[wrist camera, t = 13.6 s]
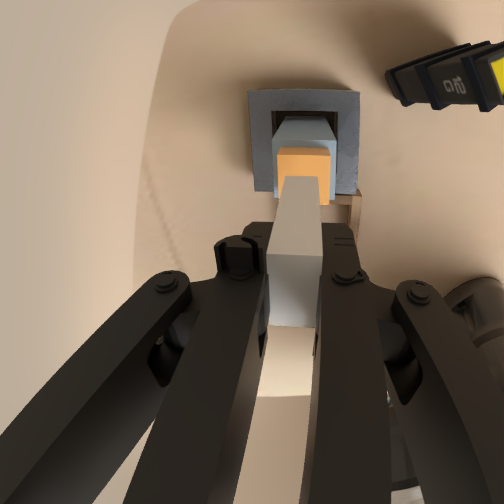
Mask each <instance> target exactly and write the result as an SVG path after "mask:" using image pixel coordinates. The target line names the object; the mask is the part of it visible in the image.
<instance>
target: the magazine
mask: <svg viewBox="0 0 504 504" xmlns="http://www.w3.org/2000/svg"><path fill="white" fill-rule="evenodd" d="M385 78H386V80H387V82H388V84H389V86H390V88H391V90H392V92H393V94H394V96H395V98H396V99H398V100H400V102H401V104H402V106H405V107H407V106H409V105H412V104H414V103H416V102H417V103H430V104H431V107H432V109H433V110H441V109H443V108H445V107H447V106H449V105H451V104H461V105H463V104H478V107H479V110H480V112H490V111H491V110H492V109H493V108H495V107H496V106H497V105H504V41H503V42H500V43H497V44H491V43H490V41H484V42H481V43H477V44H474V45H471V44H470V43H467V44H463V45H460V46H456V47H453V48H450V49H446V50H443V51H440V52H437V53H434V54H431V55H428V56H425V57H422V58H419V59H416V60H413V61H411V62H408V63H405V64H403V65H400V66H397V67H395V68H392V69H390V70H387V71H386V73H385Z"/></svg>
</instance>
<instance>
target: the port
mask: <svg viewBox="0 0 504 504" xmlns="http://www.w3.org/2000/svg"><path fill="white" fill-rule="evenodd" d="M248 104H249V118H250V132H251V146H252V160H253V174H254V189H255V191H265V192H274V175H273V153H272V139H273V137H274V135H275V134H276V132H277V127H276V111H334V136H335V138H336V141H337V146H336V180H335V193H339V194H356V188H357V173H358V155H359V125H360V92H358V91H353V90H337V89H304V88H291V89H257V90H250V91H248Z"/></svg>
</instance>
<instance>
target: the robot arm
mask: <svg viewBox="0 0 504 504" xmlns="http://www.w3.org/2000/svg"><path fill="white" fill-rule="evenodd" d="M214 251H215V258H216V264H217V270H218V272H217V274H216V276H215V278H212V279H209V280H204V281H197V282H191V283H190V281H189V278H188V276H187V275H186V274H185V273H183V272H180V271H174V270H171V271H164V272H161V273H158V274H156V275H154V276H153V277H151V278H150V279H149V280H148V281H147V282H146V283H144V284H143V285H142V286H141V287H140V288H139V289H138V290H137V291H136V292H135V293H134V294H133V295H132V296H131V297H130V298H129V299H128V300H127V301H126V302H125V303H124V304H123V305H122V306H121V307H120V308H119V309H118V310H116V311H115V312H114V314H113V315H111V316H110V317H109V318H108V319H107V320H106V321H105V322H104V324H102V325H101V326H100V327H99V328H98V329H97V330H96V331H95V333H94V334H92V335H91V336H90V338H89V339H88V340H87V341H86V342H85V343H84V344H83V345H82V346H81V347H80V348H79V349H78V350H77V351H76V352H75V353H74V354H73V355H72V356H71V357H70V358H69V359H68V360H67V361H66V362H65V363H64V365H63V366H62V367H61V368H60V369H59V370H58V371H57V372H56V373H55V374H54V375H53V376H52V377H51V378H50V380H49V381H48V382H47V383H46V384H45V385H44V386H43V387H42V389H40V390H39V392H38V393H37V394H36V395H35V396H34V397H33V398H32V399H31V401H30V402H29V403H28V404H27V405H26V406H25V407H24V408H23V410H22V411H21V412H20V413H19V415H17V417H16V418H15V419H14V420H13V421H12V422H11V424H10V425H9V426H8V427H7V428H6V430H5V431H4V432H3V433H2V434H1V436H0V504H92V503H93V502H94V500H95V499H96V497H97V496H98V495H99V494H100V492H101V491H102V490H103V488H104V487H105V486H106V485H107V483H108V482H109V481H110V479H111V478H112V477H113V475H114V474H115V472H116V471H117V470H118V468H119V467H120V466H121V464H122V463H123V462H124V460H125V459H126V458H127V456H128V455H129V454H130V452H131V451H132V449H133V448H134V447H135V445H136V444H137V443H138V441H139V440H140V438H141V437H142V436H143V434H144V433H145V432H146V430H147V429H148V427H149V426H150V425H151V423H152V422H153V421H154V419H155V418H156V419H155V421H154V424H153V426H152V429H151V431H150V434H149V436H148V439H147V441H146V444H145V446H144V449H143V451H142V454H141V456H140V459H139V462H138V464H137V467H136V470H135V472H134V475H133V477H132V480H131V483H130V485H129V488H128V490H127V493H126V496H125V498H124V501H123V504H233V501H234V496H235V492H236V488H237V484H238V479H239V475H240V471H241V466H242V462H243V457H244V453H245V448H246V444H247V439H248V434H249V429H250V424H251V420H252V415H253V410H254V405H255V400H256V396H257V391H258V386H259V381H260V375H261V370H262V365H263V360H264V355H265V349H266V344H267V339H268V335H267V325H268V320H269V325H276V326H292V327H311V328H316V331H315V340H314V348H313V355H312V356H314V358H313V375H312V390H311V403H310V415H309V426H308V436H307V445H306V455H305V463H304V471H303V478H302V485H301V493H300V499H299V504H504V286H503V285H502V284H501V283H500V282H499V281H498V280H496V279H493V278H478V279H474V280H471V281H469V282H467V283H465V284H463V285H461V286H459V287H458V288H456V289H455V290H453V291H452V292H451V293H449V294H448V295H447V296H446V297H445V298H444V299H443V298H442V297H441V295H440V294H439V293H438V292H437V291H436V290H435V289H434V288H433V287H432V286H431V285H429V284H427V283H425V282H422V281H418V280H407V281H404V282H401V283H400V284H399V285H398V286H397V289H396V291H394V290H390V289H386V288H382V287H380V286H377V285H375V284H373V283H371V282H370V281H369V277H368V275H367V274H366V272H365V271H364V270H362V269H361V266H360V261H359V257H358V252H357V247H356V243H355V240H354V234H353V230H352V229H351V228H349V227H348V226H347V225H346V224H340V223H321V212H320V197H319V184H318V176H285V179H284V183H283V187H282V191H281V195H280V200H279V204H278V208H277V212H276V216H275V220H274V222H252V223H250V224H249V225H248V226H246V227H245V228H244V231H243V233H242V235H233V236H230V237H226V238H224V239H222V240H220V241H218V242H217V243H216V244H215V246H214ZM159 338H160V339H159ZM158 339H159V340H158ZM387 391H388V394H389V398H388V397H387Z"/></svg>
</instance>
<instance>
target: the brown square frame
mask: <svg viewBox="0 0 504 504" xmlns="http://www.w3.org/2000/svg"><path fill="white" fill-rule="evenodd" d="M361 201H362V196H361V193H360V191H359V190H356V194H339V193H335V200H329V204H345V205H349V214H348V225H347V226H348V227H349V228H351V229H352V230H353V234H354V240H355V243H356V245H357V237H358V229H359V220H360V211H361Z"/></svg>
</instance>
